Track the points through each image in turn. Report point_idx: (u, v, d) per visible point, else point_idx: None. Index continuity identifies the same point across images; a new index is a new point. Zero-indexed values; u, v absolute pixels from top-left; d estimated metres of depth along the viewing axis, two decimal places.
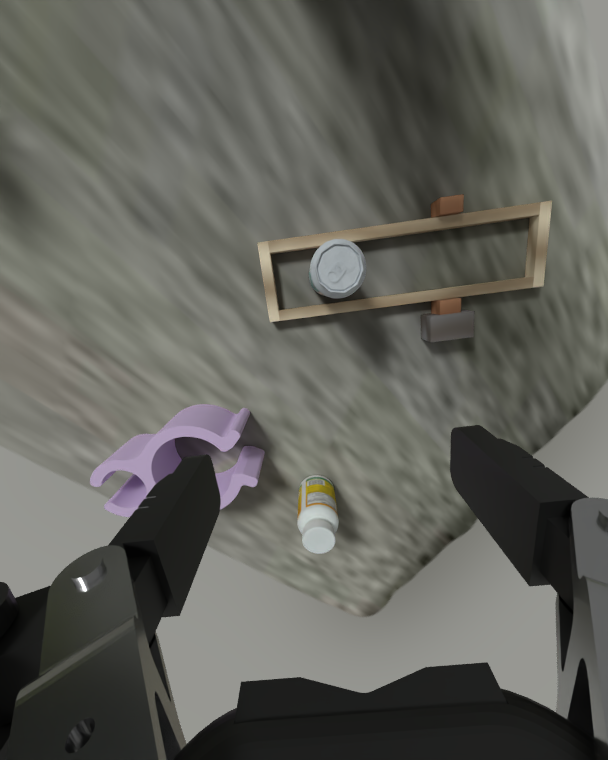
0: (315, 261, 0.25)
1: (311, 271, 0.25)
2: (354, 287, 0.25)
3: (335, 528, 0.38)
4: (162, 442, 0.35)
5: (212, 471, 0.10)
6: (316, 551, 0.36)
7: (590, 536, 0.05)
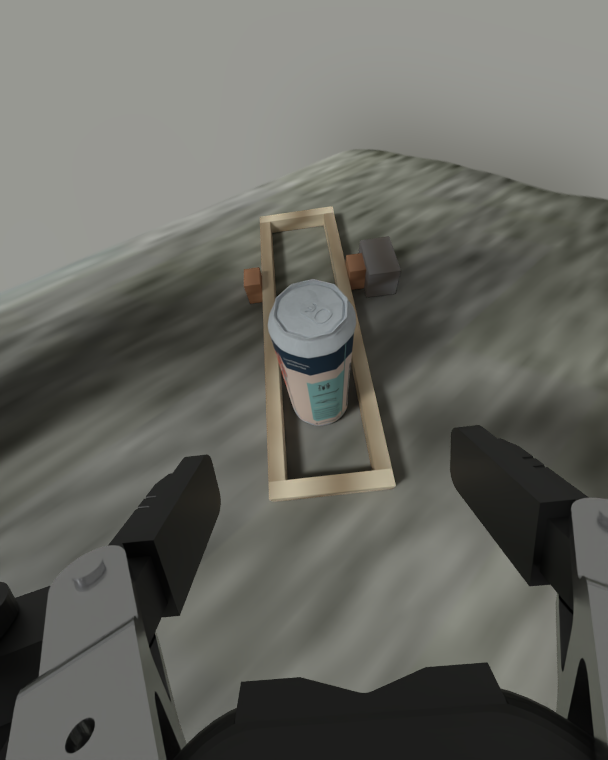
0: (298, 344, 0.15)
1: (313, 353, 0.15)
2: (338, 290, 0.16)
3: None
4: None
5: (212, 471, 0.10)
6: None
7: (590, 536, 0.05)
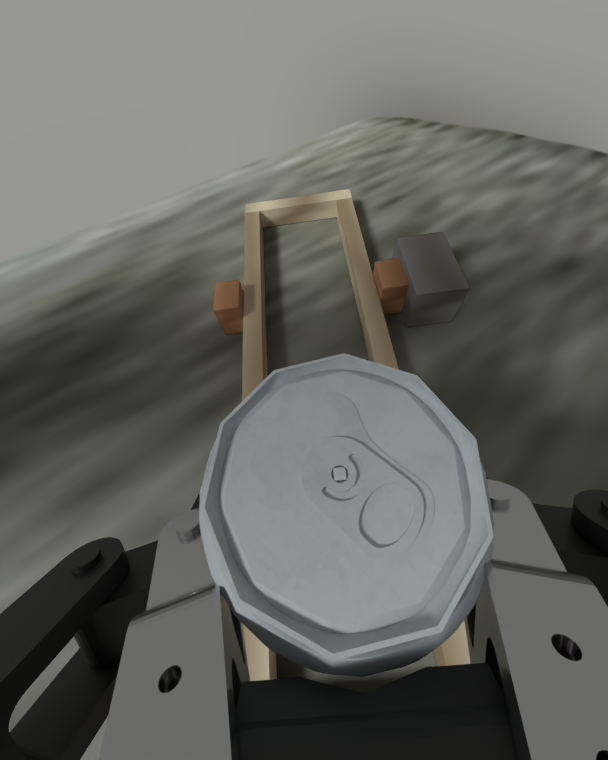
0: (295, 644, 0.04)
1: (355, 670, 0.04)
2: None
3: None
4: None
5: None
6: None
7: None
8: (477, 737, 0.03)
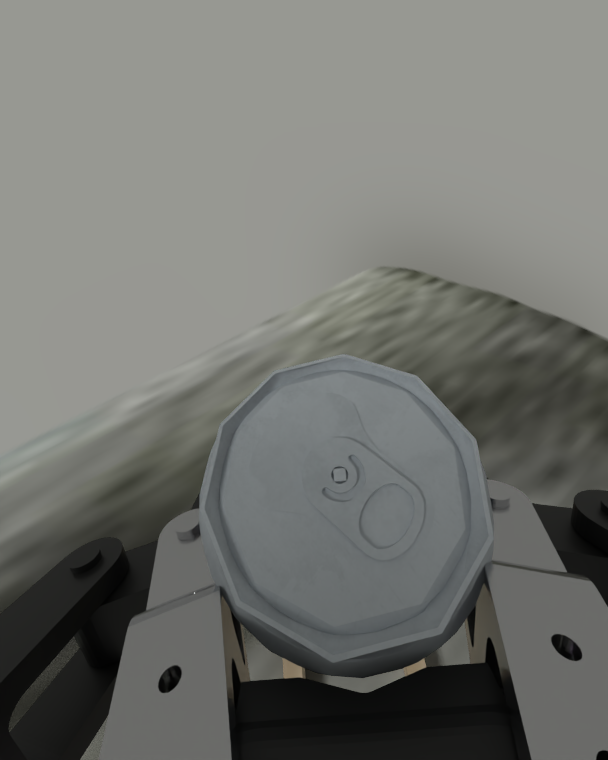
0: (295, 644, 0.04)
1: (355, 671, 0.04)
2: None
3: None
4: None
5: None
6: None
7: None
8: (477, 737, 0.03)
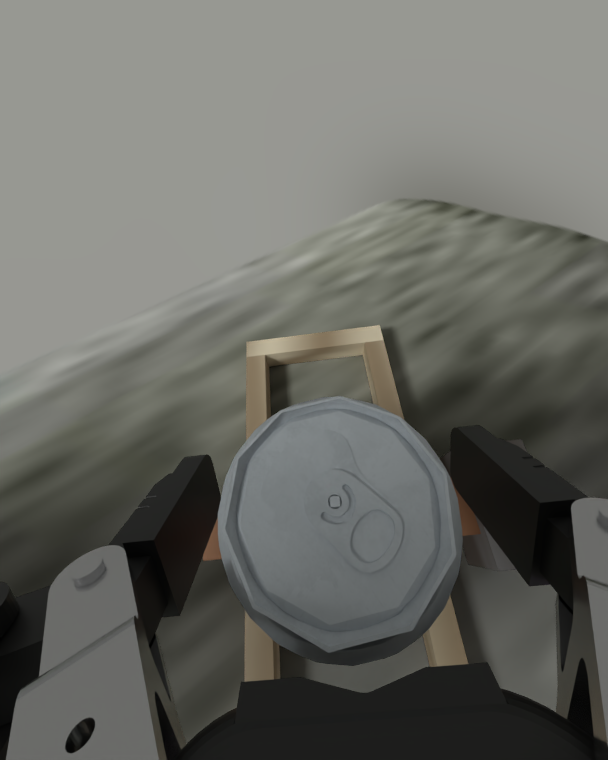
0: (299, 639, 0.05)
1: (346, 660, 0.05)
2: None
3: None
4: None
5: (212, 471, 0.10)
6: None
7: (590, 536, 0.05)
8: (549, 738, 0.03)
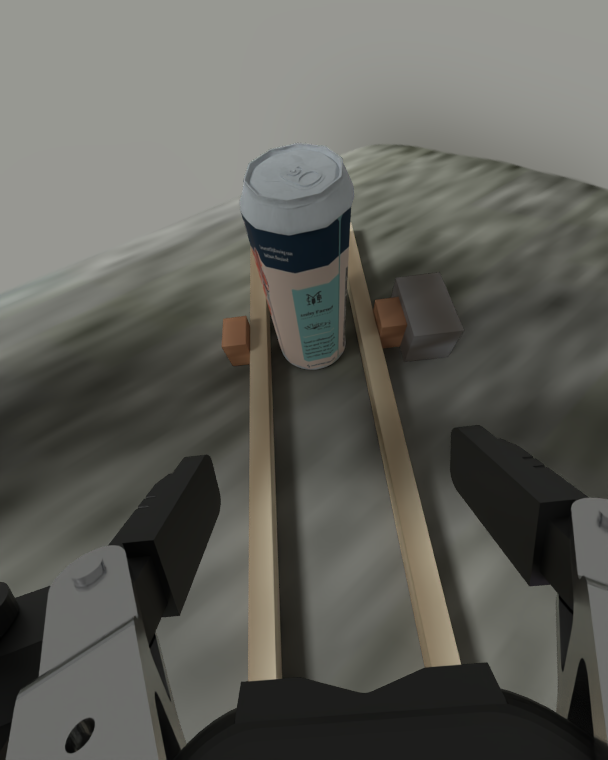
0: (276, 213, 0.11)
1: (296, 227, 0.11)
2: (331, 155, 0.12)
3: None
4: None
5: (212, 471, 0.10)
6: None
7: (590, 536, 0.05)
8: (549, 738, 0.03)
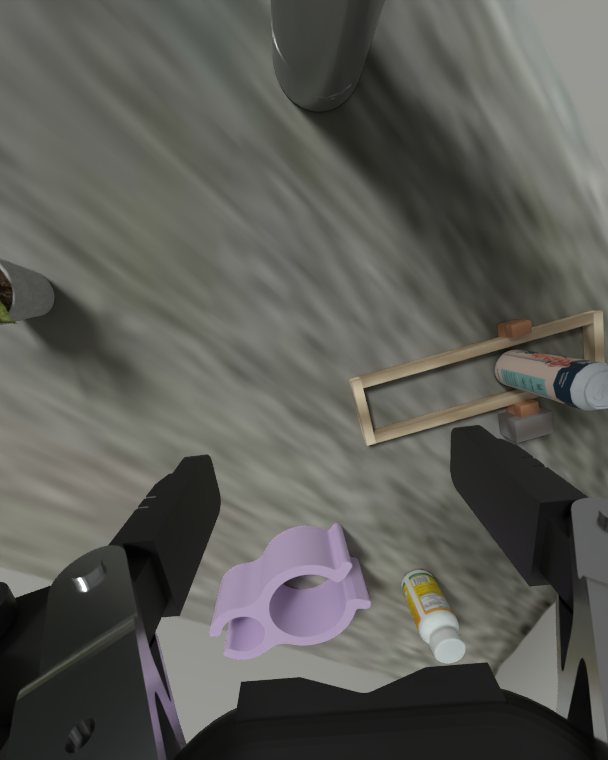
0: (580, 385, 0.28)
1: (573, 392, 0.28)
2: None
3: (457, 631, 0.39)
4: (279, 584, 0.36)
5: (212, 471, 0.10)
6: (448, 661, 0.37)
7: (590, 536, 0.05)
8: (549, 738, 0.03)
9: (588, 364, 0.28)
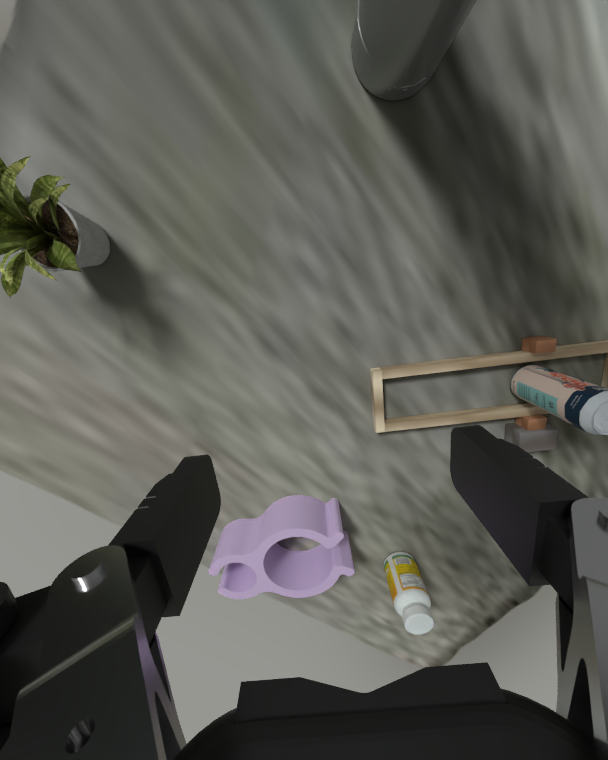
0: (590, 410, 0.29)
1: (582, 415, 0.30)
2: None
3: (429, 609, 0.43)
4: (275, 541, 0.40)
5: (212, 471, 0.10)
6: (415, 632, 0.41)
7: (590, 536, 0.05)
8: (549, 738, 0.03)
9: (603, 391, 0.29)
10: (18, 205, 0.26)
